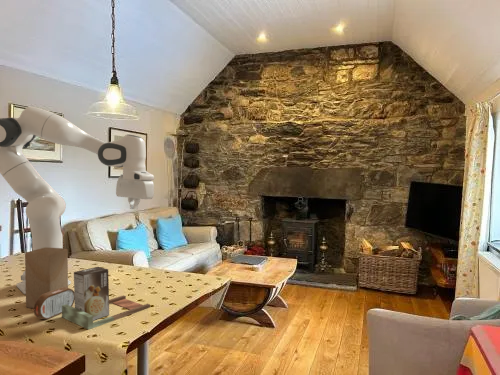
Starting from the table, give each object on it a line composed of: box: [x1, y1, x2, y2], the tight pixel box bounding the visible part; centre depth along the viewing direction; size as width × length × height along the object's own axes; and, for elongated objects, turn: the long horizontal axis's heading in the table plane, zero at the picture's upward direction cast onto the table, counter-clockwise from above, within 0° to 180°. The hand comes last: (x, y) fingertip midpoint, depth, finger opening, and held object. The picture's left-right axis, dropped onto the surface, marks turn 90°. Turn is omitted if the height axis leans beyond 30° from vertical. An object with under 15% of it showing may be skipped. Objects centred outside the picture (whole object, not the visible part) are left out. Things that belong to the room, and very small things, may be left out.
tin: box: [33, 287, 75, 320], centre depth 129 cm, size 15×3×8 cm, turn 159°
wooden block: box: [24, 247, 69, 309], centre depth 138 cm, size 10×10×20 cm
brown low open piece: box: [61, 295, 151, 330], centre depth 131 cm, size 16×24×4 cm, turn 144°
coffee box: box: [73, 266, 110, 321], centre depth 126 cm, size 9×6×16 cm
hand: (133, 209), depth 153 cm, fingers closed
